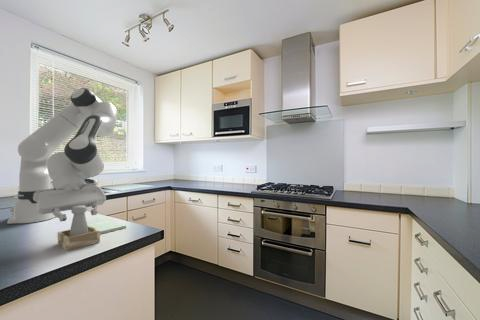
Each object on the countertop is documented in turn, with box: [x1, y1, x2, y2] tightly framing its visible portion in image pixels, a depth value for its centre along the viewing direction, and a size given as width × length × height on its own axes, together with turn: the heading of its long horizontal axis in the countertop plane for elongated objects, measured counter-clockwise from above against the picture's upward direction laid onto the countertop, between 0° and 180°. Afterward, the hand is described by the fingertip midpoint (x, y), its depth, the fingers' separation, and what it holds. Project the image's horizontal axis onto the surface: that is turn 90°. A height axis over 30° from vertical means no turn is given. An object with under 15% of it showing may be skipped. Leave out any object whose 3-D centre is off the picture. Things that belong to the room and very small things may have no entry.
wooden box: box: [57, 226, 101, 252], centre depth 76 cm, size 10×10×4 cm
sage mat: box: [87, 219, 127, 235], centre depth 92 cm, size 14×12×1 cm
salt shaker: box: [69, 205, 89, 237], centre depth 76 cm, size 6×6×13 cm
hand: (80, 217), depth 77 cm, fingers open, 8 cm apart
